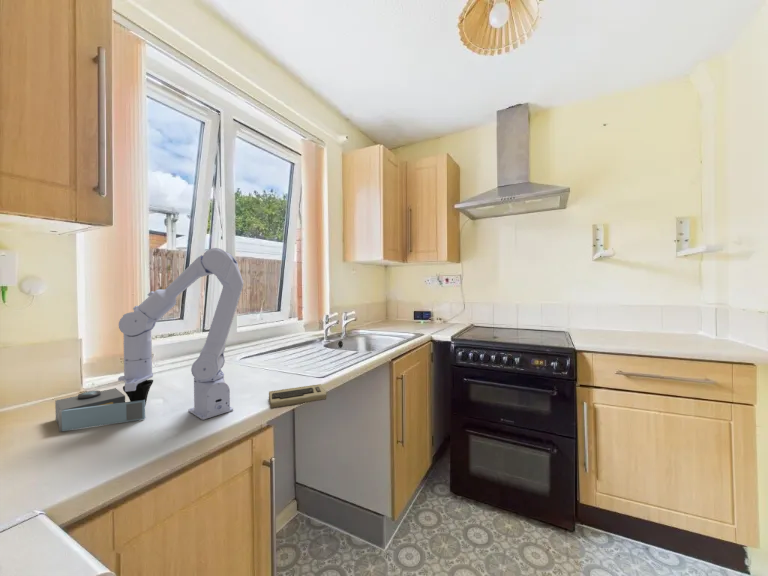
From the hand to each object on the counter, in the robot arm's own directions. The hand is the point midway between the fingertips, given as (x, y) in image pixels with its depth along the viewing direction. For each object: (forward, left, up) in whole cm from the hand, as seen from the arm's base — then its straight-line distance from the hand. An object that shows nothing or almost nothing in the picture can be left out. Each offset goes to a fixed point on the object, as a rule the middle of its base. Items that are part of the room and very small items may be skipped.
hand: (139, 410), depth 82 cm
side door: (+1, +7, -2) cm, 7 cm away
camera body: (+11, +8, -2) cm, 13 cm away
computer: (-21, -33, -3) cm, 40 cm away
